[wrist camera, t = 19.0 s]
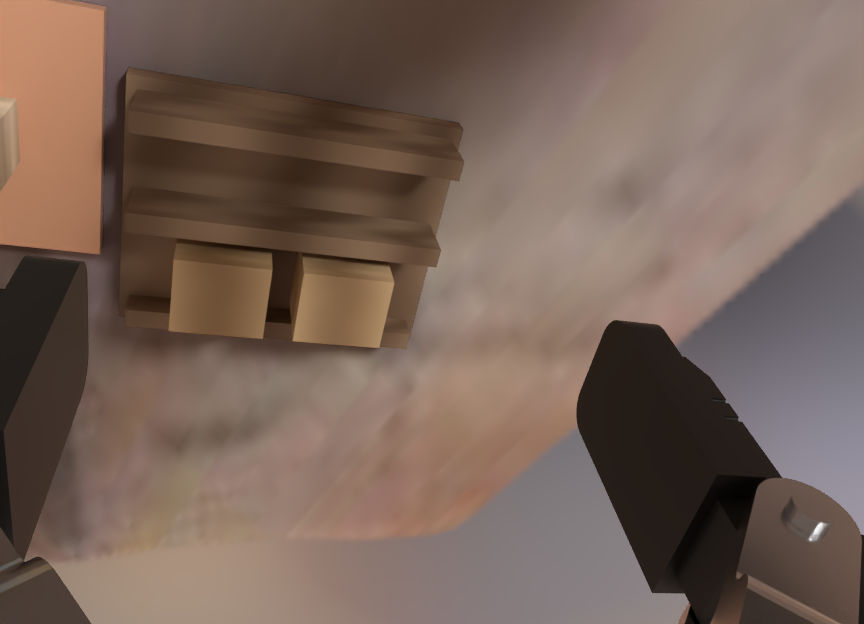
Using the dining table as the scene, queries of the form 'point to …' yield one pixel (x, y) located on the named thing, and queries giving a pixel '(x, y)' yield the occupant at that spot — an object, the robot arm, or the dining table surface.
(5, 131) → the long beige rectangular prism
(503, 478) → the dining table surface
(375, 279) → the offcut
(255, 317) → the offcut
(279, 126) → the rack
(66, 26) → the tile
